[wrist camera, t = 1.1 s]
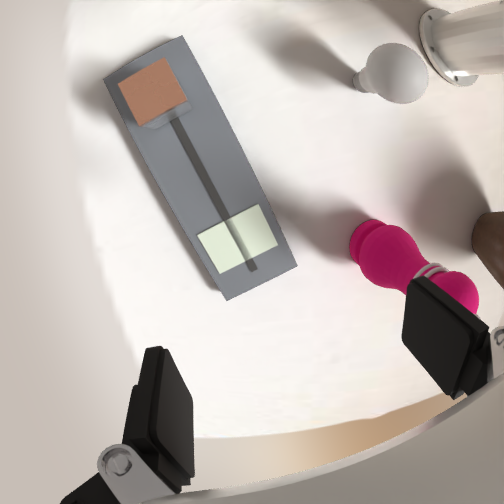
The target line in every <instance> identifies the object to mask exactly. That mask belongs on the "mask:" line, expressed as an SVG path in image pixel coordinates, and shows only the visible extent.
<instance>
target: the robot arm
mask: <svg viewBox="0 0 504 504" xmlns="http://www.w3.org/2000/svg"><path fill="white" fill-rule="evenodd" d="M419 31H420V38H421V41H422V45H423V47H424V50H425V52H426V54H427V56H428V58H429V60H430V62H431V63H432V64H433V66H434V68H435V69H436V70H437V71H438V72H439V74H440V75H441V76H442V77H443V78H445V79H446V80H447V81H448V82H450V83H452V84H454V85H456V86H461V87H463V86H470V85H472V84H473V83H475V81H476V80H477V78H478V76H479V75H488V74H504V0H500V1H495V2H491V3H487V4H483V5H479V6H475V7H472V8H468V9H465V10H461V11H458V12H455V13H452V14H451V13H449V12H448V11H445V10H443V9H437V8H436V9H431V10H429V11H426V12H425V13H424V14H423V15H422V17H421V20H420V26H419ZM488 329H489V326H487V325H486V324H485V323H484V322H483V321H481V320H480V319H479V318H478V317H477V316H475V315H474V314H473V313H472V312H471V311H469V310H468V309H467V308H466V307H464V306H463V305H462V304H461V303H459V302H458V301H457V300H456V299H454V298H453V297H452V296H450V295H449V294H448V293H447V292H445V291H444V290H443V289H441V288H440V287H439V286H437V285H436V284H435V283H434V282H432V281H431V280H429V279H428V278H427V277H425V276H419V277H417V278H414V279H412V280H410V282H409V284H408V285H407V291H406V302H405V312H404V321H403V329H402V341H403V343H404V345H405V346H406V347H407V348H408V349H409V351H410V352H411V353H412V354H413V355H414V356H415V358H416V359H417V360H418V361H419V362H420V364H421V365H422V366H423V367H424V368H425V370H426V371H427V372H428V373H429V374H430V376H431V377H432V378H433V379H434V381H435V382H436V383H437V384H438V386H439V387H440V388H441V389H442V391H443V392H444V393H445V394H446V395H450V396H451V398H452V399H453V400H455V399H456V398H458V397H460V396H461V395H463V394H464V392H465V393H466V394H467V398H465V399H463V400H462V401H460V402H459V403H457V404H455V405H454V406H452V407H451V408H449V409H447V410H446V411H444V412H442V413H440V414H439V415H437V416H435V417H433V418H432V419H430V420H428V421H426V422H424V423H422V424H421V425H419V426H417V427H415V428H413V429H411V430H409V431H407V432H405V433H403V434H401V435H399V436H397V437H394V438H392V439H390V440H388V441H386V442H383V443H381V444H379V445H377V446H375V447H372V448H369V449H367V450H364V451H362V452H359V453H357V454H354V455H351V456H349V457H346V458H343V459H340V460H337V461H334V462H331V463H328V464H325V465H322V466H319V467H316V468H312V469H309V470H305V471H302V472H298V473H294V474H290V475H286V476H282V477H278V478H273V479H269V480H264V481H259V482H254V483H249V484H243V485H237V486H232V487H225V488H217V489H209V490H202V491H194V492H186V493H180V492H181V491H182V490H181V486H185V485H191V484H190V478H193V477H194V475H195V470H194V435H193V400H192V396H191V394H190V392H189V390H188V388H187V387H186V385H185V383H184V381H183V379H182V377H181V375H180V373H179V371H178V369H177V367H176V365H175V363H174V360H173V358H172V356H171V354H170V352H169V350H168V349H163V347H162V346H156V347H151V348H146V350H145V354H144V358H143V363H142V367H141V372H140V377H139V381H138V385H134V386H133V389H132V393H131V397H130V402H129V407H128V412H127V417H126V423H125V428H124V434H123V440H122V444H116V445H112V446H110V447H108V448H106V449H105V450H104V451H103V452H102V453H101V455H100V456H99V459H98V462H97V468H98V471H99V472H98V473H97V474H96V475H94V476H93V477H92V478H90V479H89V480H88V481H86V482H85V483H84V484H82V485H81V486H80V487H78V488H77V489H76V490H74V491H73V492H71V493H70V494H69V495H67V496H66V497H65V498H64V499H63V500H62V501H61V503H60V504H504V326H502V327H497V328H495V329H494V330H492V332H491V334H490V333H489V332H488Z"/></svg>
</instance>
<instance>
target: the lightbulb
mask: <svg viewBox="0 0 504 504" xmlns="http://www.w3.org/2000/svg"><path fill="white" fill-rule="evenodd" d="M353 84H354V86H355V88H356V89H357V90H358V91H360V92H363V93H368V92H370V93H377V94H379V95H380V96H381V97H383V98H384V99H386V100H388V101H391V102H394V103H399V104H404V103H411V102H413V101H416V100H417V99H419V98H420V97H421V96H422V95H423V94H424V92H425V90H426V88H427V85H428V70H427V67H426V65H425V63H424V61H423V60H422V58H421V57H420V56H419V55H418V54H417V53H416V52H415V51H414V50H412V49H411V48H409V47H407V46H405V45H402V44H397V43H387V44H383V45H381V46H379V47H377V48H376V49H374V50H373V51H372V53H371V54H370V55H369V57H368V60H367V63H366V67H365V68H363V69H362V70H361V71H360V72H358V73H357V74H355V75H354V77H353Z"/></svg>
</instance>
